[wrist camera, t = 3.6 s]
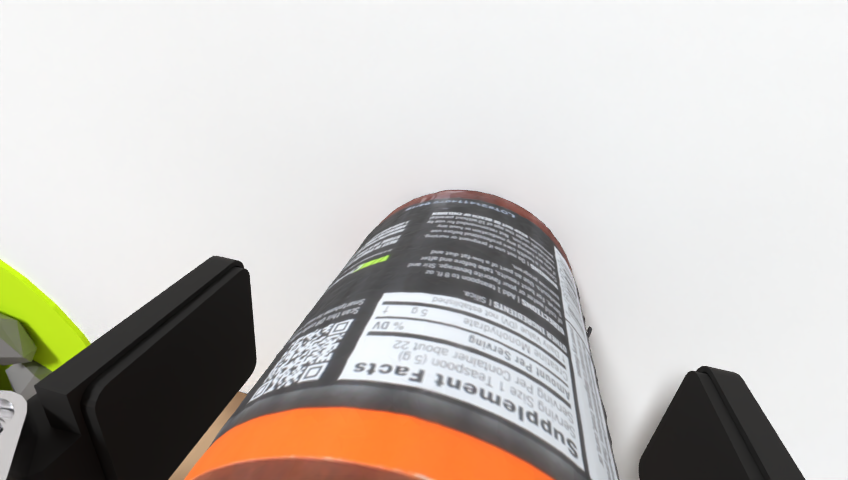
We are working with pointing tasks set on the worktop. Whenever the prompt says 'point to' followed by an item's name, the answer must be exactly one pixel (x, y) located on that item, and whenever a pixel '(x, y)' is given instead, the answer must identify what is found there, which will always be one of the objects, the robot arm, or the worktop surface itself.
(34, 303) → the toy cauldron
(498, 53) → the worktop surface
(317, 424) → the supplement bottle
